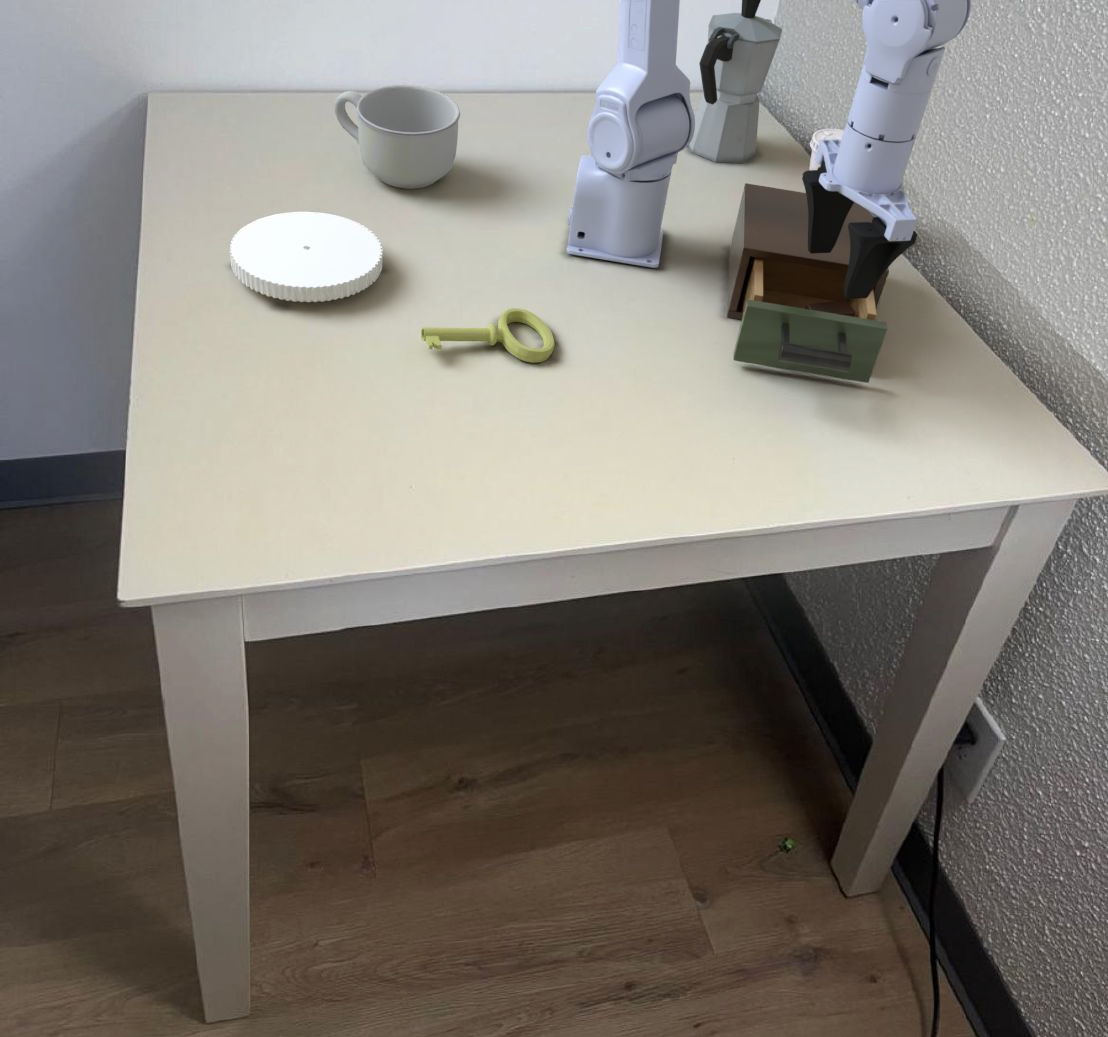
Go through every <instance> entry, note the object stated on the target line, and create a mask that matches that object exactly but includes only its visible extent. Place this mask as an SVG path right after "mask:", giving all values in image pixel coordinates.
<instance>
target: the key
mask: <svg viewBox="0 0 1108 1037" xmlns="http://www.w3.org/2000/svg"><path fill="white" fill-rule="evenodd" d="M511 323H522V324H526V325H527V326H529V327H531V328H532V329H534V330H535V331H536V332H537V333H538V334H539V336H540V337H541V339H542V341H543V346H542V347H541V348H537V347H536V348H535V347H530V346H526V345H524V344H523V343H522V342H520V341H519V340H518V339H516V337H515V336H514V335H513V334H512V332H511V331H510V328H509V326H508V324H511ZM420 336H421V341H422V342H425V344H426V346H427V348H428V350H433V349H436V350H442V346H443V345H442V342H487V343H488V345H489V346H492V347H493V346H495V345H496V344H497V342H501V343H502V346H504V348H505V350H507V351H508V352H509V353H510V354H511V355H512V356H514V357H515V358H517V359H519V360H521V361H524V362H527V363H535V364H536V363H542V362H546V361H547V360H549V358H550V356H552V353H553V352H554V351H555V346H556V345H555V343H556V342H555V338H554V336H553V334H552V331H551V330H550V328H549V326H548V325H547V324H546V323H545V321H543V320H542V318H540V317H539V316H538V315H536V314H535V313H534V312H531V311H529V310H527V309H524V308H517V307H513V308H507V309H505V310H504V311H502V313H501V315H500V316H499V319H498V321H497V326H496V324H494V323H489V324H488V325H487V327H423V326H422V327H421V330H420Z"/></svg>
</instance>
